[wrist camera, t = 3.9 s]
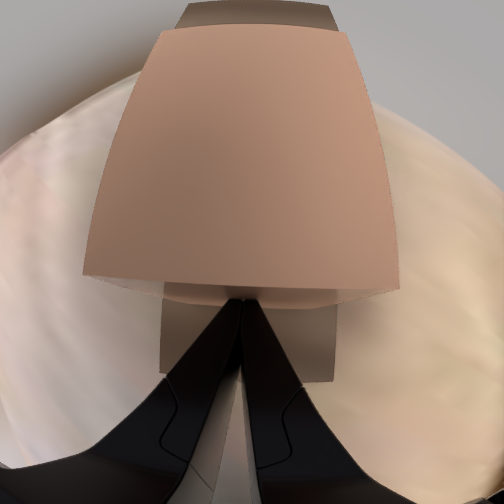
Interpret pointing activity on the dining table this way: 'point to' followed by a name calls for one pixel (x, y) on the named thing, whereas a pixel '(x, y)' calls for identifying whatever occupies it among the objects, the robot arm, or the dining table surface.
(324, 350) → the stop block
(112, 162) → the pink box
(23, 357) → the dining table surface
